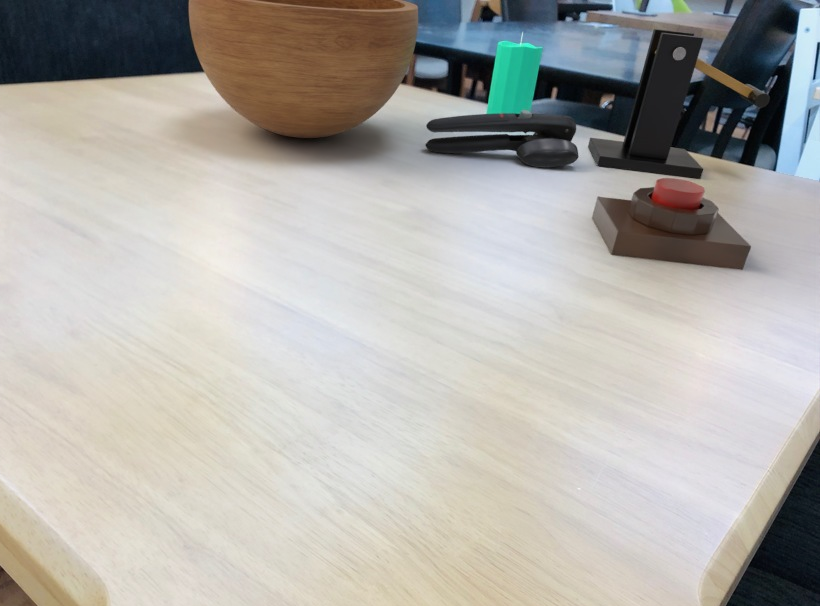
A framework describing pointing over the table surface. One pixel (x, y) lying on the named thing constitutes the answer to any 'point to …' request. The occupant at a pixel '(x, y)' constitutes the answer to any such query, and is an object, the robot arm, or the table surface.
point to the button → (678, 193)
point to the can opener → (510, 136)
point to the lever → (735, 84)
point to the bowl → (304, 59)
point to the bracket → (656, 111)
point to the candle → (514, 77)
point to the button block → (669, 232)
